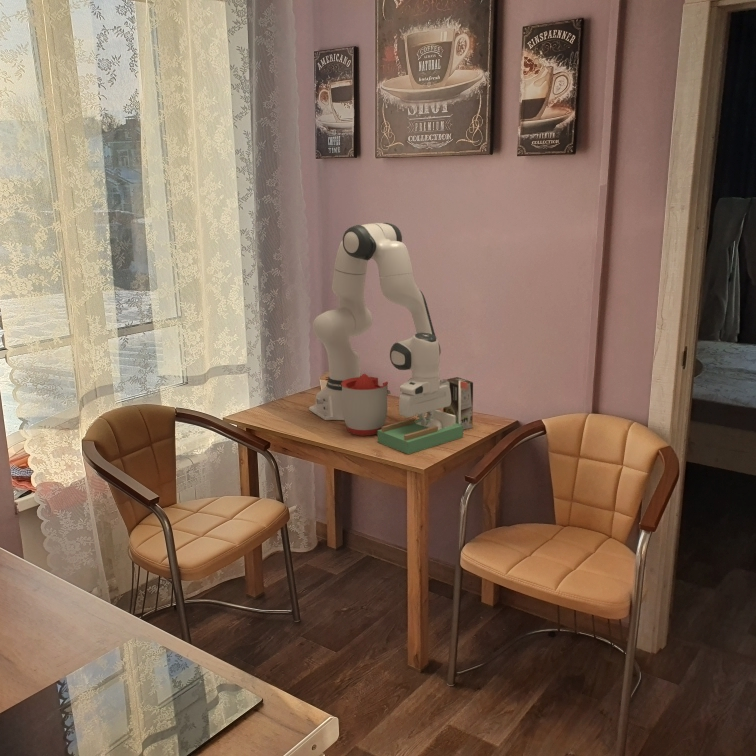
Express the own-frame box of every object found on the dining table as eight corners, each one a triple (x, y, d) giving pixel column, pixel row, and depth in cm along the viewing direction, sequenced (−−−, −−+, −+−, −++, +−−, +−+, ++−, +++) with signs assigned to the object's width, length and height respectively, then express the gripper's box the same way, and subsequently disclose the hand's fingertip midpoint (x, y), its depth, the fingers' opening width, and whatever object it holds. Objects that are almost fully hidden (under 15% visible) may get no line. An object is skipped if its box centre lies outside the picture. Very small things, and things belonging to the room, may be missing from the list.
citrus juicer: (401, 431, 262) (401, 374, 257) (358, 441, 253) (356, 382, 248) (376, 419, 275) (375, 365, 270) (333, 429, 265) (332, 372, 260)
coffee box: (473, 427, 265) (474, 382, 260) (458, 431, 261) (458, 385, 257) (457, 420, 272) (457, 376, 268) (442, 424, 269) (442, 379, 265)
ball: (425, 418, 257) (436, 414, 260) (422, 429, 259) (433, 425, 262) (435, 427, 254) (446, 423, 257) (432, 438, 257) (442, 434, 260)
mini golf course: (377, 442, 252) (376, 385, 247) (431, 426, 267) (431, 372, 262) (412, 456, 239) (412, 396, 234) (467, 438, 254) (468, 382, 249)
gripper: (442, 376, 259) (442, 415, 263) (395, 387, 247) (396, 428, 250) (455, 379, 254) (455, 420, 258) (408, 391, 242) (409, 433, 245)
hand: (425, 424), depth 254 cm, fingers closed
